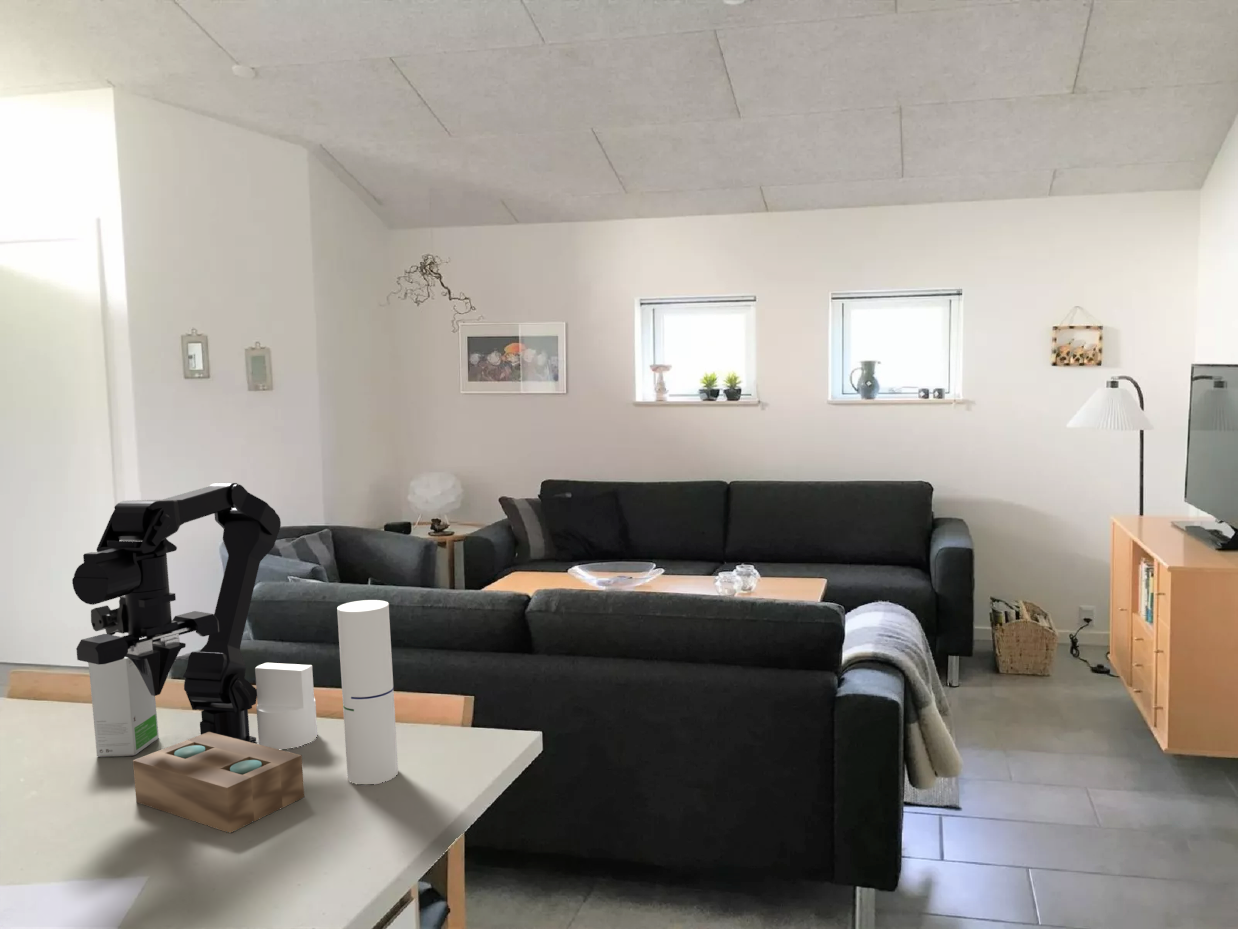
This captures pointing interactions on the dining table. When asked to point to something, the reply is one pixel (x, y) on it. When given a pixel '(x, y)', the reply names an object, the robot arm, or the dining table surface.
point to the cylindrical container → (367, 691)
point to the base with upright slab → (285, 705)
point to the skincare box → (121, 709)
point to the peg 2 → (245, 766)
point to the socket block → (219, 781)
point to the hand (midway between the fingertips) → (155, 694)
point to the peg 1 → (189, 751)
